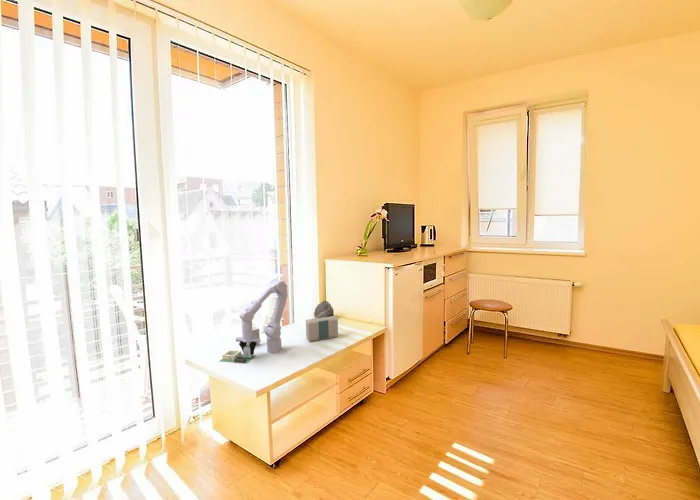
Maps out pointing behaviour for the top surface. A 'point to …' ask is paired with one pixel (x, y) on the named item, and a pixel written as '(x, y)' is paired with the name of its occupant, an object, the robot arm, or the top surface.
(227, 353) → the frame
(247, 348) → the plug
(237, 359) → the block
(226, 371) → the top surface
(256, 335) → the ink box
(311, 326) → the stereo radio cassette player
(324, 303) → the decorative rock
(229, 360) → the board
